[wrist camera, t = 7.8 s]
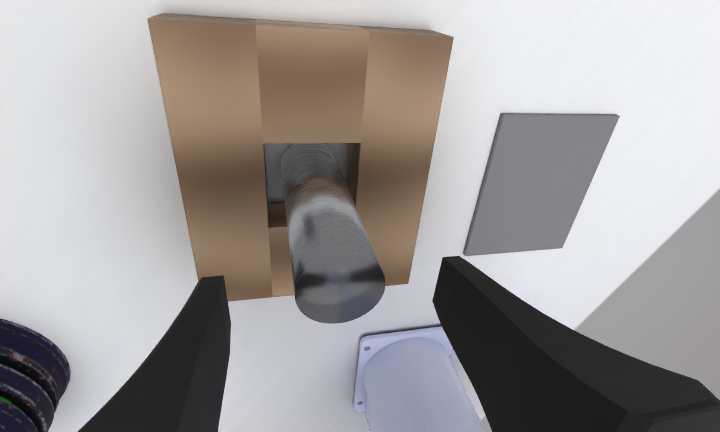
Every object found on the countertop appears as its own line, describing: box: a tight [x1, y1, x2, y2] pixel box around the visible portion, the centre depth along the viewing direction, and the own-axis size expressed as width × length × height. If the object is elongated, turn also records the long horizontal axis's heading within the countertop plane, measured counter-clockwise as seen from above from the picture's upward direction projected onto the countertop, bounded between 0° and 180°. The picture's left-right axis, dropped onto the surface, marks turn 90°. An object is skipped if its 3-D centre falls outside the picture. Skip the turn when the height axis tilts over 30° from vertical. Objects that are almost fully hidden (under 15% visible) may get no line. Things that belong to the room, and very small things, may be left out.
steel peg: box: [281, 143, 385, 323], centre depth 16 cm, size 3×3×10 cm
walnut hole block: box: [148, 14, 454, 301], centre depth 19 cm, size 14×12×2 cm
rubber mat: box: [463, 113, 620, 256], centre depth 25 cm, size 10×8×1 cm
